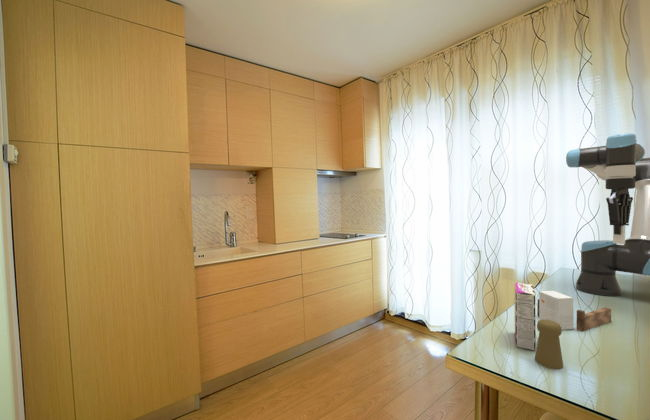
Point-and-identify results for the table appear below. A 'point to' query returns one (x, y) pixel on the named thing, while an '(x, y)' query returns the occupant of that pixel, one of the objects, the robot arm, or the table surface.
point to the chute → (590, 318)
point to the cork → (549, 345)
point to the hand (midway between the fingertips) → (618, 243)
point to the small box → (556, 308)
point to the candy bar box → (525, 316)
